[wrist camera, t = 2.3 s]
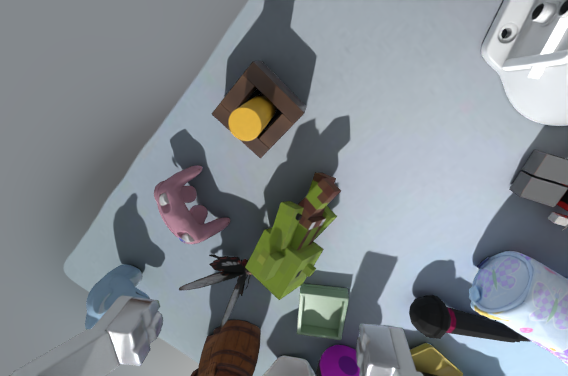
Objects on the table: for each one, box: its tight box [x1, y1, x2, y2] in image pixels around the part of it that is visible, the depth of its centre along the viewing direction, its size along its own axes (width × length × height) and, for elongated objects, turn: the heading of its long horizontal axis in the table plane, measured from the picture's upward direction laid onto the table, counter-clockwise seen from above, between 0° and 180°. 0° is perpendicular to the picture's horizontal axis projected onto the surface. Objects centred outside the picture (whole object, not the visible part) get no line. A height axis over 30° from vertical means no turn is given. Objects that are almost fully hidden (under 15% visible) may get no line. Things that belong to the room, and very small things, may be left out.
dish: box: [297, 283, 349, 340], centre depth 44 cm, size 9×7×2 cm
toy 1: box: [245, 172, 341, 300], centre depth 35 cm, size 10×7×15 cm
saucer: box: [410, 343, 463, 376], centre depth 46 cm, size 9×9×2 cm
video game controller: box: [154, 165, 230, 244], centre depth 37 cm, size 10×5×7 cm, turn 22°
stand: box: [212, 61, 306, 158], centre depth 31 cm, size 7×7×4 cm
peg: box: [229, 94, 277, 141], centre depth 29 cm, size 3×3×9 cm
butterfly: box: [179, 255, 251, 328], centre depth 40 cm, size 11×8×10 cm
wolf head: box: [85, 265, 150, 330], centre depth 43 cm, size 6×9×10 cm
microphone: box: [409, 295, 531, 342], centre depth 41 cm, size 6×6×20 cm
